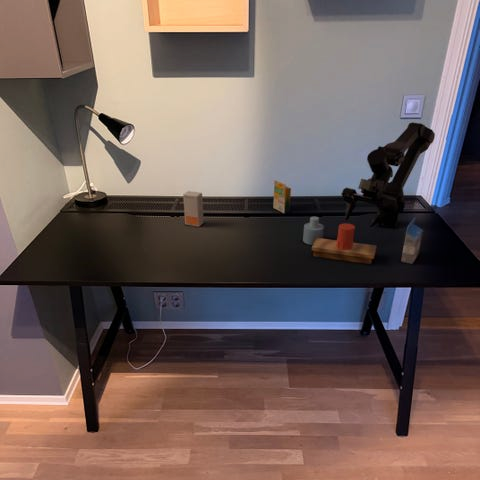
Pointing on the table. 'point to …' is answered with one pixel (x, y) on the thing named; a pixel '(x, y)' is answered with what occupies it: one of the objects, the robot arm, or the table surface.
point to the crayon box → (281, 197)
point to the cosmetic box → (193, 208)
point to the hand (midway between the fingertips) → (358, 223)
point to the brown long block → (344, 251)
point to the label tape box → (412, 243)
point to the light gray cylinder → (312, 231)
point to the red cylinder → (345, 236)
